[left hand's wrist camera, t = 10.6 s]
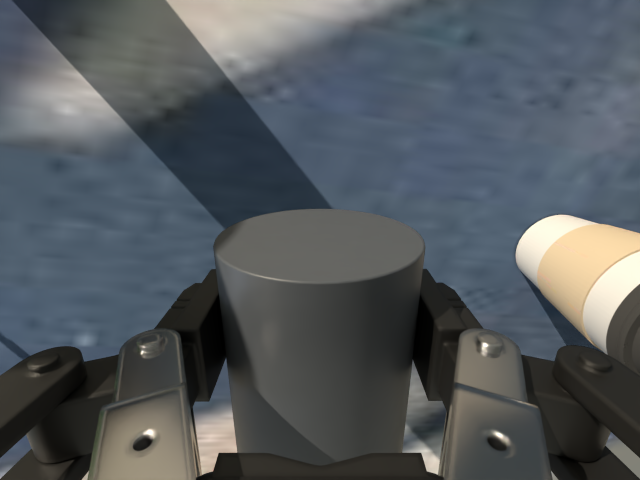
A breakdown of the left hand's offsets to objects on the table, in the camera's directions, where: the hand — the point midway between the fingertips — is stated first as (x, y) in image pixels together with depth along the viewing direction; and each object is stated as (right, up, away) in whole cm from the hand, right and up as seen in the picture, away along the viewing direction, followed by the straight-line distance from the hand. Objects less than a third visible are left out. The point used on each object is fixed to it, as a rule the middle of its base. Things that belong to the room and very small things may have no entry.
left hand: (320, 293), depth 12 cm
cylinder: (0, -8, +5) cm, 9 cm away
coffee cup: (+22, +1, +21) cm, 30 cm away
